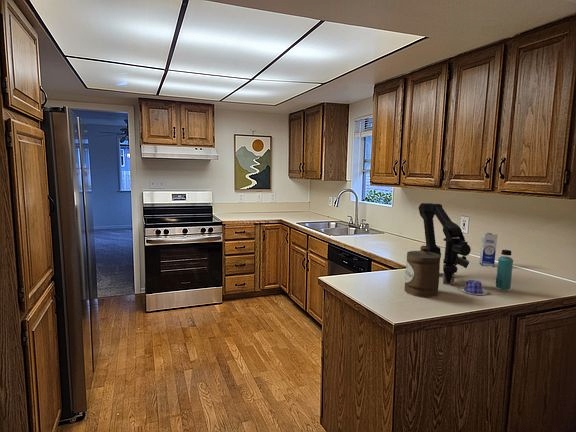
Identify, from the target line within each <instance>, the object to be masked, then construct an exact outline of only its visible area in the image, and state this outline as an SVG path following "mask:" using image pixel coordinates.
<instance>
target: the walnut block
mask: <svg viewBox="0 0 576 432" xmlns="http://www.w3.org/2000/svg"><path fill="white" fill-rule="evenodd" d="M455 276H456V273H454V274H453V275H452V278H451V281H450V283H447V280H446V277H445V274H444V273H443V279H442V285H448V286H455V278H456V277H455Z"/></svg>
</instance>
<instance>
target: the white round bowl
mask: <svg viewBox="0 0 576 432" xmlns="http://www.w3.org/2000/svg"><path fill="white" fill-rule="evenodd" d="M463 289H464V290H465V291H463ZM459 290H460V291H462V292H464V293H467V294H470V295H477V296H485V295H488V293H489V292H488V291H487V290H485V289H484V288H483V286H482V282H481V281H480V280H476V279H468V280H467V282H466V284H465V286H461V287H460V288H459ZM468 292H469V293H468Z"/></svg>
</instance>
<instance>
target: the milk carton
mask: <svg viewBox="0 0 576 432" xmlns="http://www.w3.org/2000/svg"><path fill="white" fill-rule="evenodd" d="M481 235H482V236H481V246H480V255H479V265H480V266H481V267H488V266H492V267H491V268H495V260H496V251H497V242H498V234H493V233H492V232H487V233H483V234H481Z"/></svg>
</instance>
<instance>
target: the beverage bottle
mask: <svg viewBox="0 0 576 432" xmlns="http://www.w3.org/2000/svg"><path fill="white" fill-rule="evenodd" d="M501 255H502V256H500V257H498V259H497V261H498V262H497V265H496V266H497V269H496V276H495V284H494V285H495V288H497V289H501V290H505V291H507V290H508V291H509V290H510V289H511V287H512V276H513V275H512V273H513V266H514V265H513V264H514V259H513V258H512V257H510V256H512V251H511V250H510V249H502V250H501Z"/></svg>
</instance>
